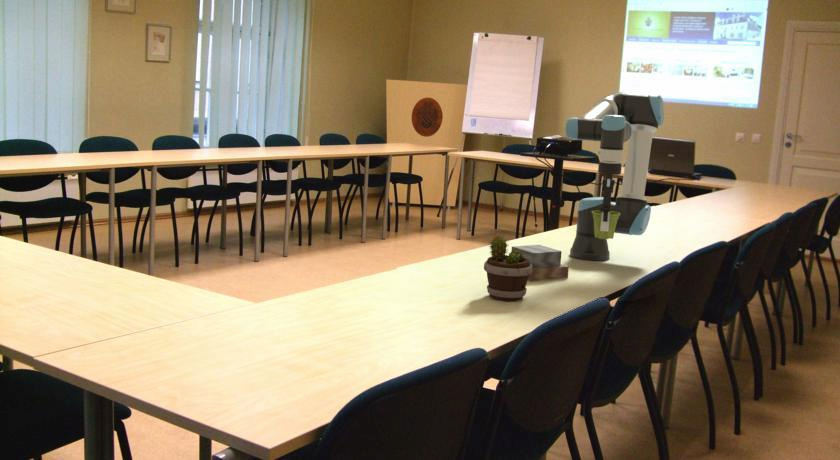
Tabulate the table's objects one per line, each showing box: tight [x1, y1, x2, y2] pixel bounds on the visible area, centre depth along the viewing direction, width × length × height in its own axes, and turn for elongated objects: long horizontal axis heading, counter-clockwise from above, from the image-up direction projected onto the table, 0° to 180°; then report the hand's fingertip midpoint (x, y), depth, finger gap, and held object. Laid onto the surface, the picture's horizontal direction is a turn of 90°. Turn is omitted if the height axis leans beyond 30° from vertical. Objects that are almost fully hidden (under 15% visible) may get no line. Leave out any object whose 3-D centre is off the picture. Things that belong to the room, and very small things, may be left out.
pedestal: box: [511, 244, 570, 282], centre depth 281 cm, size 16×16×9 cm
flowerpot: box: [483, 231, 533, 302], centre depth 246 cm, size 14×15×20 cm
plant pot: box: [592, 210, 620, 240], centre depth 275 cm, size 9×9×9 cm
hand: (604, 228), depth 276 cm, fingers closed on plant pot, 9 cm apart
